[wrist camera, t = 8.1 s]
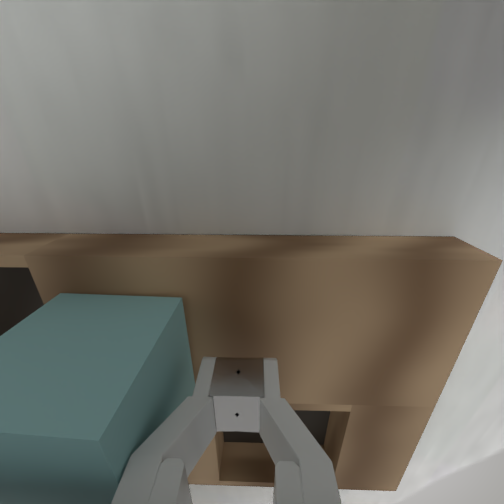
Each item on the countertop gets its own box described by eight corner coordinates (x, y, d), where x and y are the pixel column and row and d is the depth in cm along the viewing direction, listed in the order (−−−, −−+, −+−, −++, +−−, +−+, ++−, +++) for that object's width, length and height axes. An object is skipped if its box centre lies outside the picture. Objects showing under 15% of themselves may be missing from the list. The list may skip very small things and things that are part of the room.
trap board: (454, 236, 11) (558, 287, 7) (378, 447, 18) (412, 532, 14) (-109, 232, 12) (-289, 277, 8) (22, 437, 18) (-41, 515, 14)
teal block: (181, 297, 10) (98, 440, 5) (195, 386, 12) (145, 545, 7) (60, 293, 10) (-120, 422, 5) (94, 379, 12) (-16, 527, 7)
